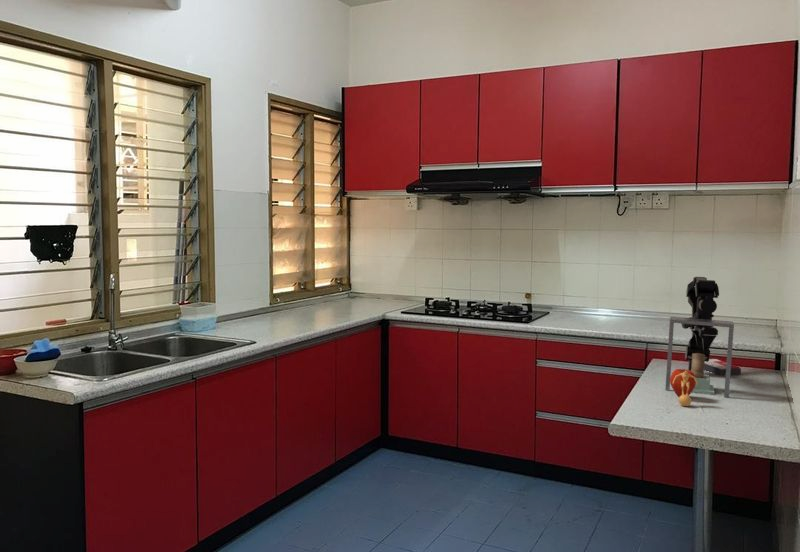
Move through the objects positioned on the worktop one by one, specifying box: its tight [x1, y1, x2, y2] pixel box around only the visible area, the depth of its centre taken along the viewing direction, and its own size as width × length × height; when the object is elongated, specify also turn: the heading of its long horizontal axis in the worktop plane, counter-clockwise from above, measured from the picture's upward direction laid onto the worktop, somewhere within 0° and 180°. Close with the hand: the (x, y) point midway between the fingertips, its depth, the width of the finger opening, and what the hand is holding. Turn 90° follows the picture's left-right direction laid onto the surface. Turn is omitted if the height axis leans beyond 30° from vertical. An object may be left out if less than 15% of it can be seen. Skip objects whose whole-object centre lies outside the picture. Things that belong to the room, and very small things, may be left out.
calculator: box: [704, 358, 742, 376], centre depth 278 cm, size 11×4×15 cm
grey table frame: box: [665, 316, 735, 399], centre depth 240 cm, size 8×21×27 cm, turn 66°
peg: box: [691, 353, 705, 379], centre depth 245 cm, size 4×4×12 cm
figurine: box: [672, 371, 698, 407], centre depth 222 cm, size 8×6×12 cm
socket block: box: [691, 374, 715, 396], centre depth 245 cm, size 12×12×5 cm
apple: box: [670, 368, 696, 398], centre depth 231 cm, size 9×8×11 cm
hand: (702, 350), depth 256 cm, fingers open, 9 cm apart
